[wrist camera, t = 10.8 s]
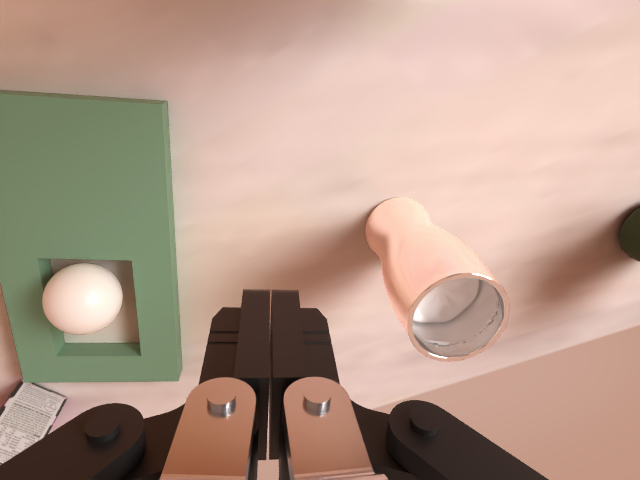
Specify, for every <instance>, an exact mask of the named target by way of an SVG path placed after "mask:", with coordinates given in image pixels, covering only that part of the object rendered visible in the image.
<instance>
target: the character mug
mask: <svg viewBox="0 0 640 480" xmlns="http://www.w3.org/2000/svg"><path fill="white" fill-rule="evenodd" d="M619 239H620V244H621V249H622V250H623V251H624V252H625V253H626V254H627V255H628V256H629V257H631V258H633V259H635V260H637V261H640V208H638V209H637V210H635V211H634V212H633V213H632V214H631V215H630V216H629V217H628V218H627V219H626V220H625V222H624V223H623V225H622V228H621V231H620V234H619Z"/></svg>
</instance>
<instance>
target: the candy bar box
mask: <svg viewBox="0 0 640 480" xmlns="http://www.w3.org/2000/svg"><path fill="white" fill-rule="evenodd" d="M66 400H67V397H65V396H63V395H61V394H59V393H57V392H54V391H51V390H48V389H46V388H43V387H41V386H38V385H36V384H34V383H24V381H23V379H22V380H21V381H20V382H19V384H18V385H17V387H16V388H15V390H14V391H13V392H12V394H11V395H10V396H9V398H8V399H7V401H6V402H5V403H4V405H3V406H2V408H1V409H0V465H1V464H3V463H4V462H6V461H8V460H9V459H11V458H12V457H14V456H15V455H17V454H19V453H20V452H22V451H23V450H25V449H26V448H28V447H30V446H31V445H33V444H34V443H36V442H37V441H39V440H41V439H42V438H44V437H45V436H47V435H48V433H49V431H50V429H51V427H52V426H53V424H54V422H55V420H56V418H57V416H58V415H59V413H60V411H61V409H62V407H63V405H64V404H65V402H66Z"/></svg>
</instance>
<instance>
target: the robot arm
mask: <svg viewBox="0 0 640 480" xmlns="http://www.w3.org/2000/svg"><path fill="white" fill-rule="evenodd" d="M268 404H269V459H270V460H272V459H279V480H548V479H547V478H545V477H544V476H542V475H541V474H539V473H538V472H536V471H535V470H533V469H532V468H530V467H529V466H527V465H526V464H524V463H523V462H521V461H520V460H518V459H517V458H515V457H514V456H512V455H511V454H509V453H508V452H506V451H505V450H503V449H502V448H500V447H499V446H497V445H496V444H494V443H493V442H491V441H490V440H488V439H487V438H486V437H484V436H482V435H481V434H480V433H478V432H477V431H475V430H474V429H472V428H471V427H469V426H468V425H466V424H464V423H463V422H462V421H460V420H458V419H457V418H456V417H454V416H452V415H451V414H450V413H448V412H447V411H445V410H444V409H442V408H440V407H439V406H437V405H434V404H432V403H429V402H425V401H420V400H410V401H405V402H402V403H400V404H398V405H396V406H395V407H394V408H393V409H392V411H391V413H390V414H386V413H382V412H377V411H374V410H370V409H367V408H364V407H362V406H360V405H358V404H356V403H354V402H353V401H352V400H350V398H349V395H348V393H347V392H346V390H345V389H344V388H343V387H342V386H341V385H340V383H339V378H338V373H337V368H336V363H335V358H334V353H333V348H332V345H331V338H330V334H329V328H328V323H327V319H326V318H325V317H324V316H323V315H322V313H321V312H320V311H319V310H318V309H317V308H300V301H299V292H298V290H272V298H271V323H270V290H246V289H243V296H242V305H241V308H230V307H223V308H222V309H221V310H220V311H219V312H218V313H217V314H216V315H215V316H214V317H213V318H212V323H211V328H210V334H209V337H208V344H207V347H206V352H205V357H204V362H203V366H202V371H201V376H200V381H199V385H198V386H197V387H195V388H194V389H193V390H192V391H191V393H190V394H189V396H188V398H187V400H186V403H185V404H184V405H182V406H180V407H179V408H177V409H175V410H172V411H170V412H167V413H164V414H160V415H157V416H153V417H149V418H145V419H143V416H142V415H141V413H140V412H139V411H138V410H137V409H136V408H134V407H132V406H130V405H126V404H121V403H112V404H105V405H100V406H97V407H94V408H91V409H89V410H87V411H85V412H83V413H81V414H80V415H78V416H77V417H75V418H74V419H72V420H70V421H69V422H67V423H66V424H64V425H63V426H61V427H59V428H58V429H56V430H55V431H53V432H52V433H50V434H48V435H47V436H45V437H44V438H42V439H41V440H39V441H37V442H36V443H34V444H33V445H31V446H30V447H28V448H26V449H25V450H23V451H22V452H20V453H19V454H17V455H15V456H14V457H12V458H11V459H9V460H8V461H6V462H4V463H3V464H1V465H0V480H257V465H258V460H266V452H267V451H266V450H267V428H268Z"/></svg>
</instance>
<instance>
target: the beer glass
mask: <svg viewBox="0 0 640 480" xmlns="http://www.w3.org/2000/svg"><path fill="white" fill-rule="evenodd" d="M365 234H366V239H367V242H368V244H369V246H370V247H371V249H372V250H373V251H374V252H375V253H376V254H377V255H378V256H379V257H380V259H381V267H382V276H383V282H384V286H385V290H386V294H387V296H388V299H389V302H390V304H391V306H392V309H393V310H394V312H395V314H396V316H397V318H398V320H399V322H400V323H401V325H402V326H403V328H404V330H405V331H406V333H407V334H408V336H409V338H410V340H411V342H412V344H413V345H414V346H415V348H416V349H417V350H418V351H419V352H421V353H422V354H423V355H425V356H427V357H429V358H432V359H435V360H439V361H459V360H464V359H467V358H470V357H473V356H475V355H477V354H479V353H481V352H483V351H484V350H486V349H487V348H488V347H490V346H491V345H492V344H493V343H494V342H495V341H496V340H497V339H498V338H499V336H500V335H501V333H502V332H503V330H504V328H505V326H506V324H507V321H508V318H509V311H510V306H509V300H508V297H507V294H506V292H505V290H504V289H503V287H502V286H501V285H500V284H499V283H498V282H497V281H496V279H495V278H494V276H493V275H492V273H491V272H490V271H489V269H488V268H487V267H486V265H485V264H484V263H483V262H482V261H481V259H480V258H479V257H478V256H477V255H476V254H475V253H474V252H473V251H472V250H471V249H470V248H469V247H468V246H467V245H466V244H465V243H463V242H462V241H461V240H459V239H458V238H456V237H455V236H453V235H452V234H450V233H448V232H446V231H445V230H443V229H441V228H439V227H437V226H435V225H433V224H432V222H431V220H430V217H429V214H428V212H427V211H426V209H425V208H424V207H423V206H422V205H421V204H420V203H418V202H417V201H415V200H413V199H410V198H406V197H396V198H391V199H388V200H386V201H384V202H382V203H381V204H379V205H378V206H377V207H376V208H375V209H374V210H373V211H372V212H371V214H370V216H369V217H368V220H367V223H366V228H365Z"/></svg>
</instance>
